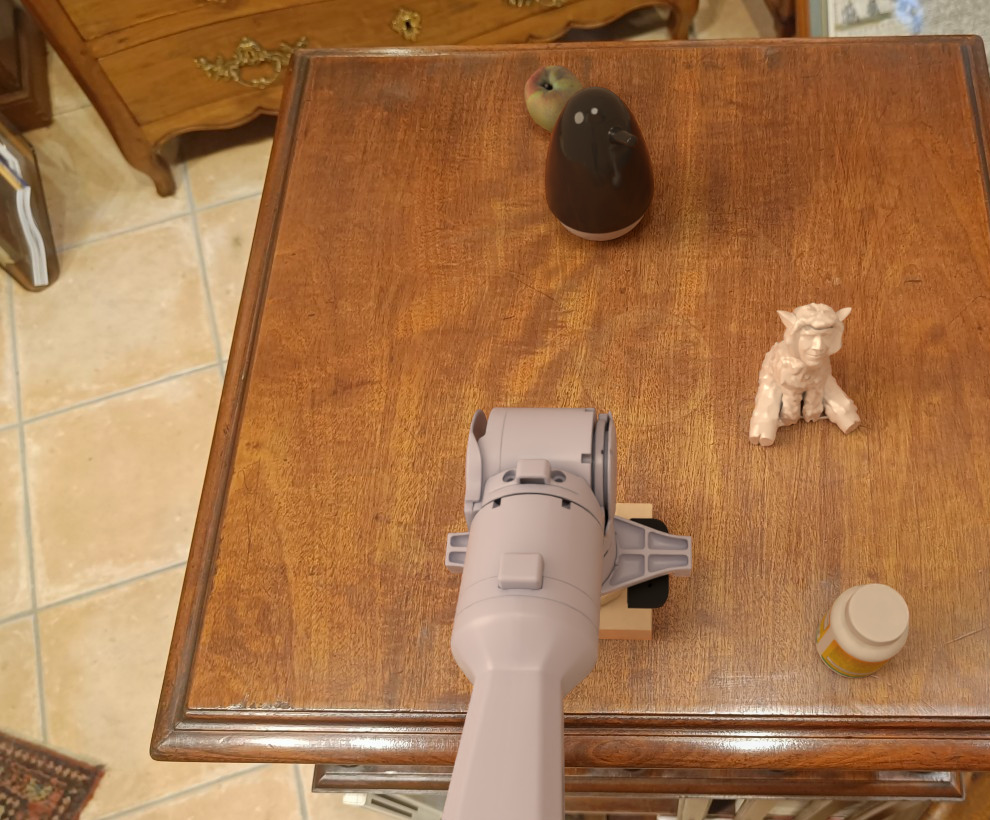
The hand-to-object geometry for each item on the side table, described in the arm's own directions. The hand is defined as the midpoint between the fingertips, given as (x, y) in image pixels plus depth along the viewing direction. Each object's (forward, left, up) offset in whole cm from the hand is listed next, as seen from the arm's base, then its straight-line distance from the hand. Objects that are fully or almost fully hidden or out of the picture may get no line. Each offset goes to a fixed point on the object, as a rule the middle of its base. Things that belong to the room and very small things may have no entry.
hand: (578, 587), depth 63 cm
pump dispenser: (+40, 0, -10) cm, 41 cm away
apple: (+53, +5, -10) cm, 54 cm away
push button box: (+4, 0, -10) cm, 11 cm away
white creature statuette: (+20, -17, -10) cm, 28 cm away
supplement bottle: (-1, -20, -10) cm, 22 cm away
